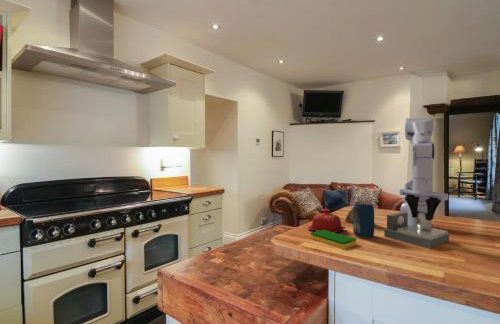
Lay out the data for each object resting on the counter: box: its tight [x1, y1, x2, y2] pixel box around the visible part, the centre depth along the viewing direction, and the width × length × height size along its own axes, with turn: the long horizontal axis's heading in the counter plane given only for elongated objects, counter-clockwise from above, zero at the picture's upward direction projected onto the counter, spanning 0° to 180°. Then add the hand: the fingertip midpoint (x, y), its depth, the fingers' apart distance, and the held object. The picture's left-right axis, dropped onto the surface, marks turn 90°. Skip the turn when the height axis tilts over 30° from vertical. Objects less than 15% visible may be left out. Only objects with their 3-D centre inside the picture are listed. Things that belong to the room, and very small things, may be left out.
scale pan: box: [397, 224, 449, 240], centre depth 95 cm, size 12×11×1 cm
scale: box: [383, 212, 450, 249], centre depth 97 cm, size 15×13×8 cm
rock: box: [345, 200, 375, 225], centre depth 120 cm, size 11×9×10 cm
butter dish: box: [307, 208, 346, 233], centre depth 108 cm, size 12×12×8 cm
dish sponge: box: [310, 230, 357, 250], centre depth 95 cm, size 7×14×2 cm, turn 35°
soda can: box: [352, 201, 375, 239], centre depth 100 cm, size 7×7×12 cm
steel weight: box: [416, 211, 433, 231], centre depth 95 cm, size 4×4×6 cm
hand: (422, 218), depth 95 cm, fingers closed on steel weight, 4 cm apart
